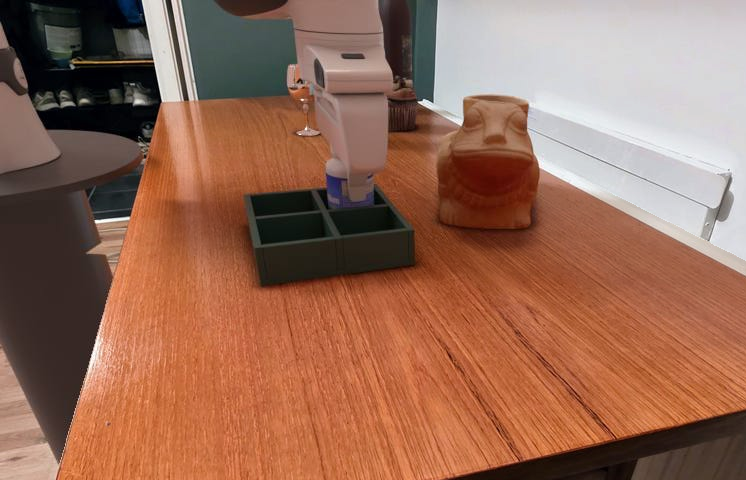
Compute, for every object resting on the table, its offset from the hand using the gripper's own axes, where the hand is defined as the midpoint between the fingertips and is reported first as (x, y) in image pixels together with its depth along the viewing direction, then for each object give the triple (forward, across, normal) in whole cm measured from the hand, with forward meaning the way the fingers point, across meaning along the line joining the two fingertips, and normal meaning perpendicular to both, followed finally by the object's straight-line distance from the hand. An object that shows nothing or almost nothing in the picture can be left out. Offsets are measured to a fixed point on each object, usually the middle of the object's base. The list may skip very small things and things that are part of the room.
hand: (350, 189), depth 64 cm
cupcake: (+5, -51, +20) cm, 55 cm away
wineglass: (+5, -49, +2) cm, 50 cm away
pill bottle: (+4, 0, 0) cm, 4 cm away
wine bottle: (+5, -67, +25) cm, 72 cm away
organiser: (+5, +4, -4) cm, 7 cm away
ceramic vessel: (+5, -3, +19) cm, 20 cm away
